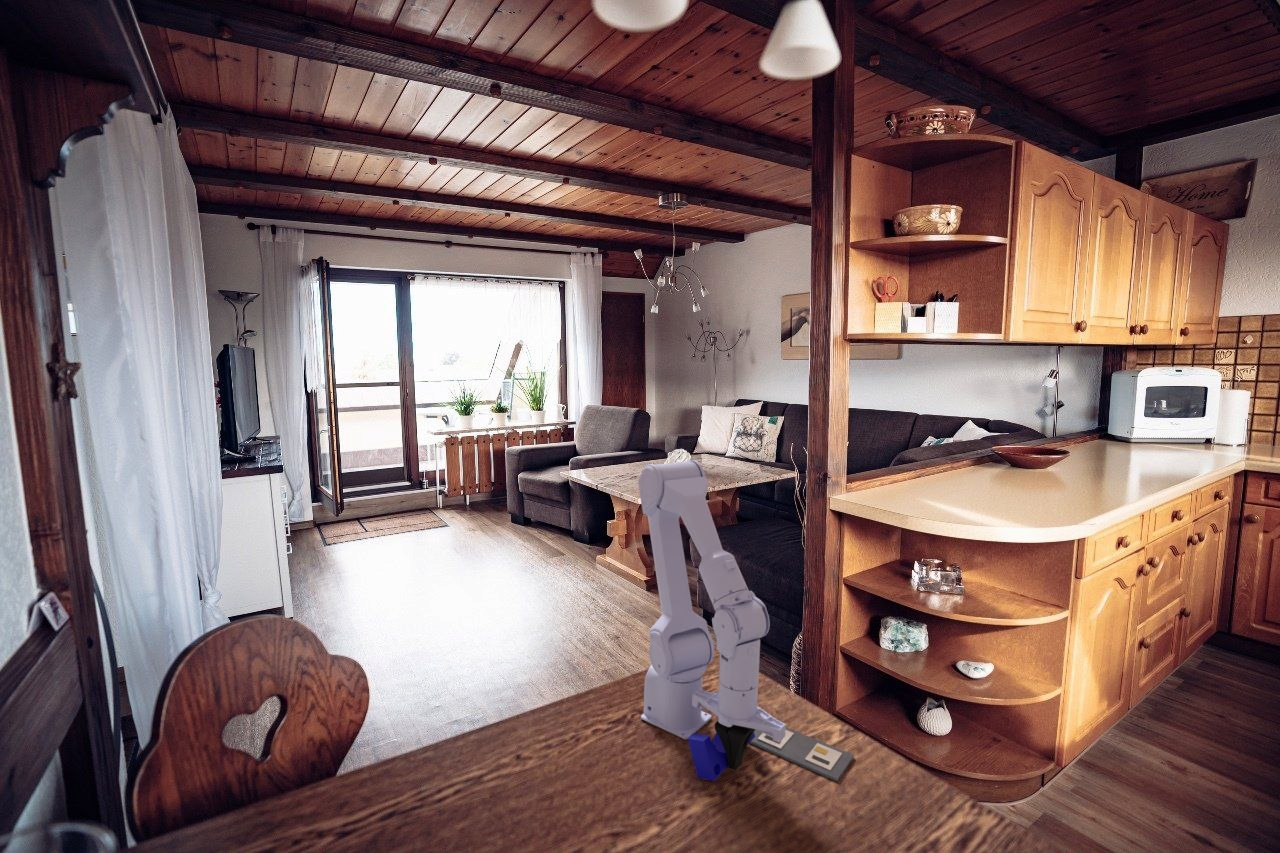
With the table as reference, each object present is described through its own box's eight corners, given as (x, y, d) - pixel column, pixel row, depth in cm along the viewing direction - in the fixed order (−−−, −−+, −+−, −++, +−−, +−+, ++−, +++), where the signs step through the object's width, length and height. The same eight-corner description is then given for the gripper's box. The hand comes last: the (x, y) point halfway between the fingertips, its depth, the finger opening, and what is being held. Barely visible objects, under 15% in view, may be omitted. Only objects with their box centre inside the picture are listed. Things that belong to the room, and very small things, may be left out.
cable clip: (731, 733, 104) (722, 697, 104) (755, 736, 101) (745, 700, 101) (689, 775, 95) (679, 737, 94) (714, 781, 92) (703, 741, 92)
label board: (746, 741, 102) (746, 737, 102) (765, 721, 108) (765, 717, 108) (837, 782, 93) (837, 777, 93) (853, 757, 99) (854, 753, 99)
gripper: (682, 675, 94) (679, 759, 96) (771, 710, 85) (767, 802, 87) (706, 657, 100) (704, 736, 102) (793, 688, 91) (789, 775, 93)
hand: (735, 765), depth 95 cm, fingers closed
